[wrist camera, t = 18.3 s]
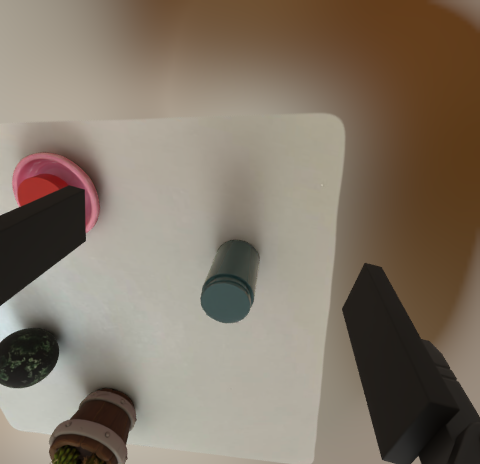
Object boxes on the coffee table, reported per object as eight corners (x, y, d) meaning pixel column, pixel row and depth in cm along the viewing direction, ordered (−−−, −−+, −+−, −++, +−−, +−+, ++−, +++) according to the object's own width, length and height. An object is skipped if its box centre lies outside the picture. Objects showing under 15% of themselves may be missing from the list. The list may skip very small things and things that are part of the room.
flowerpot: (98, 425, 70) (34, 541, 52) (70, 379, 63) (-14, 493, 46) (155, 425, 67) (108, 548, 49) (131, 377, 60) (67, 498, 43)
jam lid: (63, 233, 43) (54, 239, 42) (20, 199, 42) (9, 204, 40) (87, 199, 41) (79, 204, 39) (41, 161, 39) (30, 165, 37)
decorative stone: (44, 309, 55) (-2, 352, 46) (80, 346, 58) (44, 392, 50) (12, 326, 59) (-37, 369, 50) (48, 360, 62) (8, 406, 53)
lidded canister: (236, 231, 43) (222, 271, 34) (268, 260, 44) (264, 306, 35) (207, 258, 46) (187, 302, 36) (238, 284, 47) (227, 333, 38)
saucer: (32, 219, 47) (16, 227, 44) (23, 140, 41) (3, 143, 39) (107, 238, 47) (96, 248, 44) (108, 161, 41) (95, 166, 38)
